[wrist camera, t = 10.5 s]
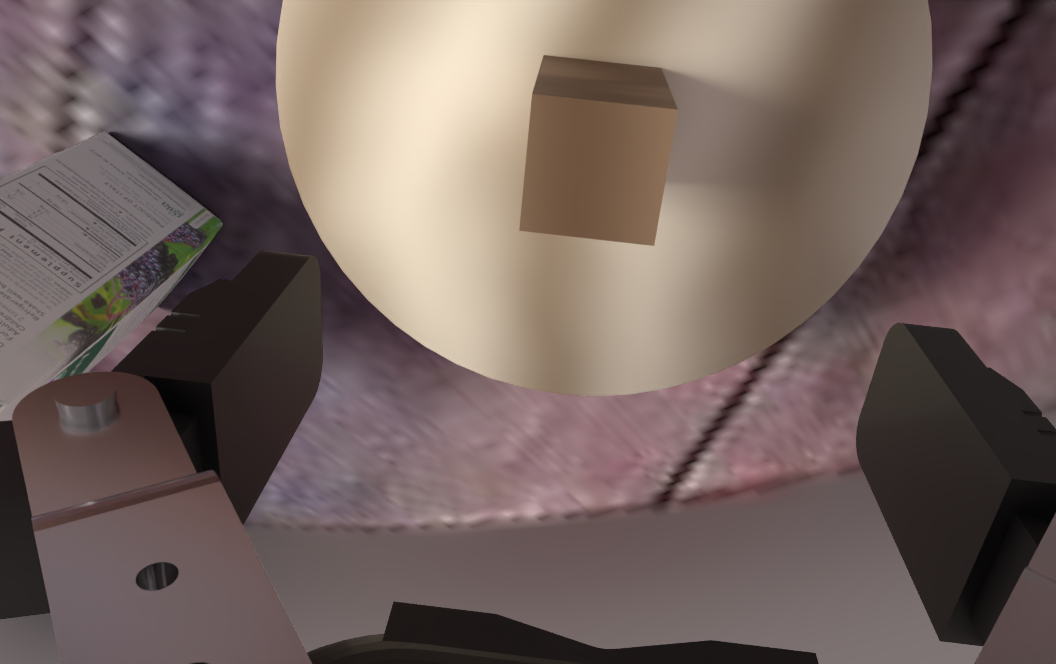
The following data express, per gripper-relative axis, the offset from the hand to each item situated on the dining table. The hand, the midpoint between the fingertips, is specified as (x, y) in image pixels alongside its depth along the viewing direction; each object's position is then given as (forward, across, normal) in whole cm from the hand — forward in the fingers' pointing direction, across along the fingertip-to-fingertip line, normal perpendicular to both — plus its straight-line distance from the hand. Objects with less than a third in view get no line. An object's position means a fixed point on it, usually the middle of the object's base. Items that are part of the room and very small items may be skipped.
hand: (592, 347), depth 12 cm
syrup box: (+21, +18, +8) cm, 29 cm away
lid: (+14, 0, 0) cm, 14 cm away
